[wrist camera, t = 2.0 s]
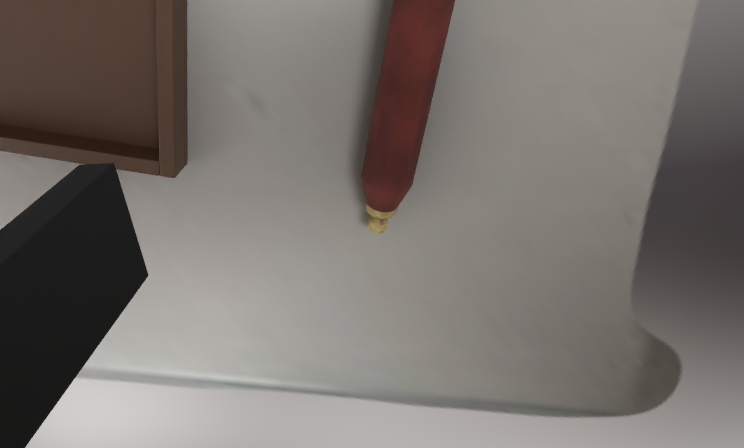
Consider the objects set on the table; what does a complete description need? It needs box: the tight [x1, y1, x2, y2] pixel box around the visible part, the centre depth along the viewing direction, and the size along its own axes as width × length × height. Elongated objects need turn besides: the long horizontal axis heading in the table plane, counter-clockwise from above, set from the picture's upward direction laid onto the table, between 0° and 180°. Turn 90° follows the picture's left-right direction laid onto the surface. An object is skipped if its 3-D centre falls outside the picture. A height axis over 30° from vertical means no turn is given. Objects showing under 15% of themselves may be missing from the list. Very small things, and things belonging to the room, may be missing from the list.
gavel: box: [362, 0, 455, 234], centre depth 29 cm, size 21×5×10 cm
